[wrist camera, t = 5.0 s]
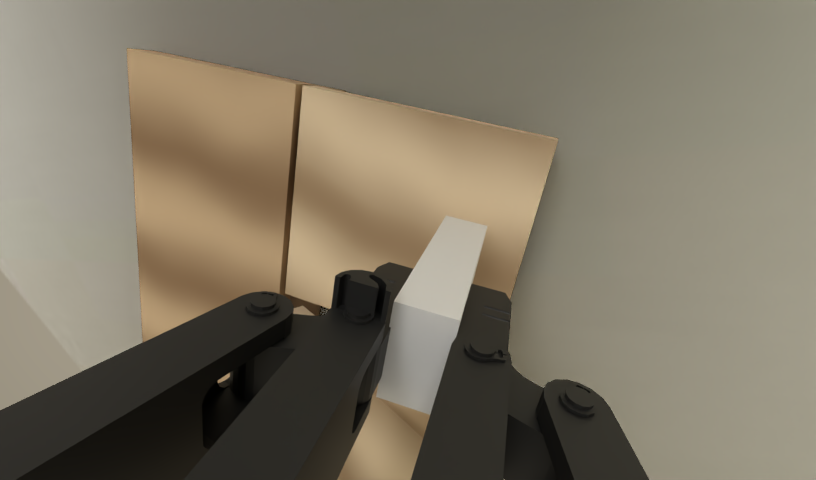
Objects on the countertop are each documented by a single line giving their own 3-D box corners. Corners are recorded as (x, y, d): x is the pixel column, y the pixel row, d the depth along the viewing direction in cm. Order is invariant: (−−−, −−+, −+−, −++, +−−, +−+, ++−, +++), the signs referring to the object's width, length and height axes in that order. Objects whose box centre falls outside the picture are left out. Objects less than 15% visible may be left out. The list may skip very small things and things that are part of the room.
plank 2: (303, 305, 22) (283, 311, 21) (455, 434, 16) (435, 449, 15) (288, 446, 26) (271, 455, 25) (408, 595, 19) (391, 613, 19)
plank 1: (316, 85, 18) (302, 85, 17) (558, 138, 16) (558, 141, 15) (297, 284, 22) (285, 293, 21) (493, 351, 20) (490, 365, 19)
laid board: (155, 51, 20) (126, 48, 19) (346, 90, 19) (330, 91, 17) (166, 391, 28) (146, 408, 26) (304, 441, 26) (290, 462, 25)
